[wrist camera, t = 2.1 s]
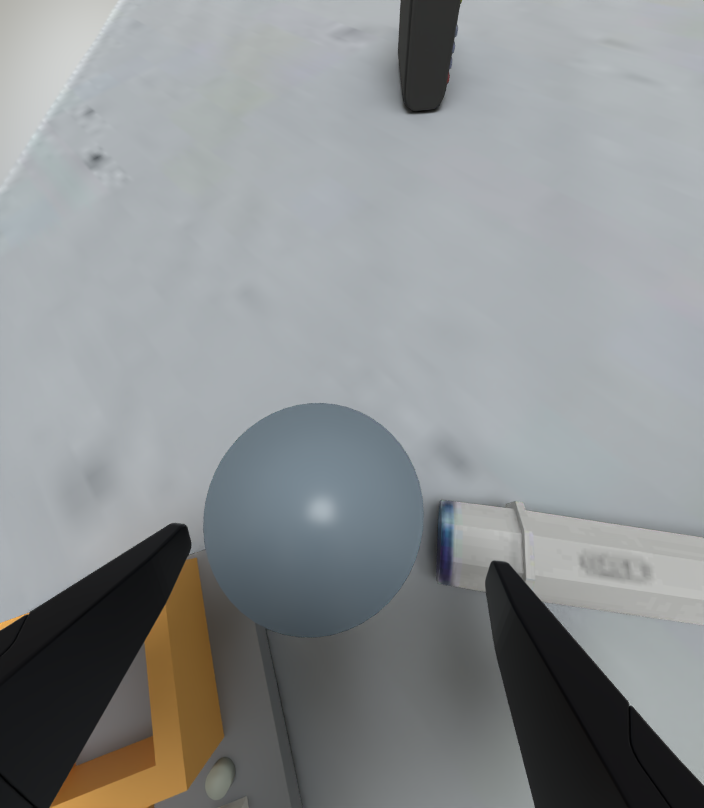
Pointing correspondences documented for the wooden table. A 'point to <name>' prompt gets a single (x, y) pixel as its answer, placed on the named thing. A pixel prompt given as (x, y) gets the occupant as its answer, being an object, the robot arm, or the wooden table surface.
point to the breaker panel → (190, 714)
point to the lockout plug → (313, 520)
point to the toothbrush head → (574, 560)
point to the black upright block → (426, 50)
